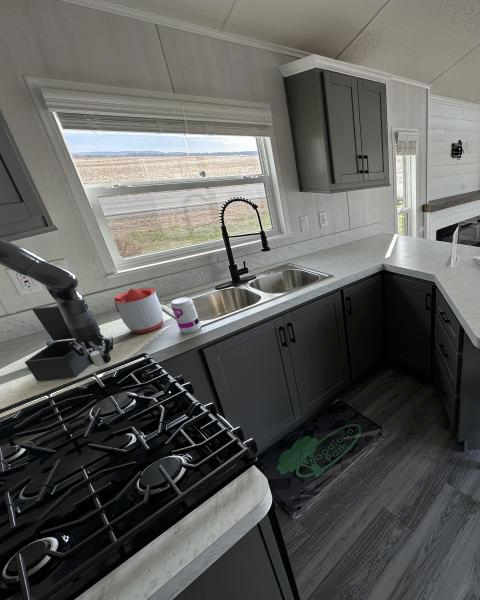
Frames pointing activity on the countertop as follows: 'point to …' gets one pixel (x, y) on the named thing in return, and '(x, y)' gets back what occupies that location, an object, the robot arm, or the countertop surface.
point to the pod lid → (53, 322)
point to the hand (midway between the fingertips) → (101, 362)
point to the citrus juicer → (139, 309)
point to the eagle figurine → (49, 341)
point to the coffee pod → (97, 359)
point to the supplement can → (185, 315)
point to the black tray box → (57, 362)
